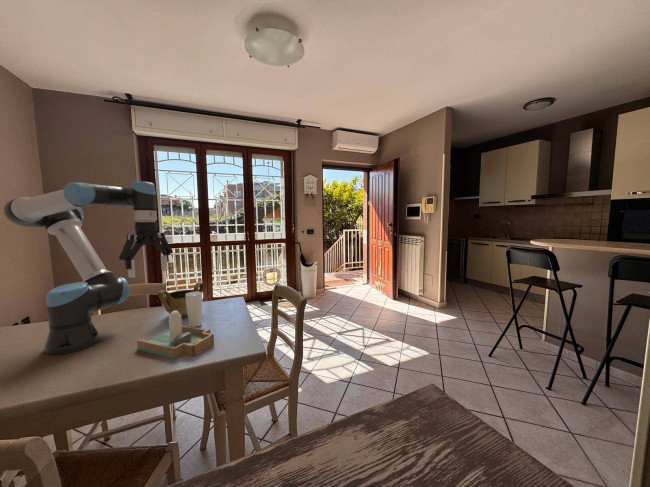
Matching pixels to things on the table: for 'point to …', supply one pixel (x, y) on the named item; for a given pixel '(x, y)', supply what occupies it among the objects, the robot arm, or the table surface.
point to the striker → (177, 329)
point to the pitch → (168, 349)
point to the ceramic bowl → (178, 299)
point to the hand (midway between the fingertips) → (149, 273)
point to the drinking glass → (194, 308)
